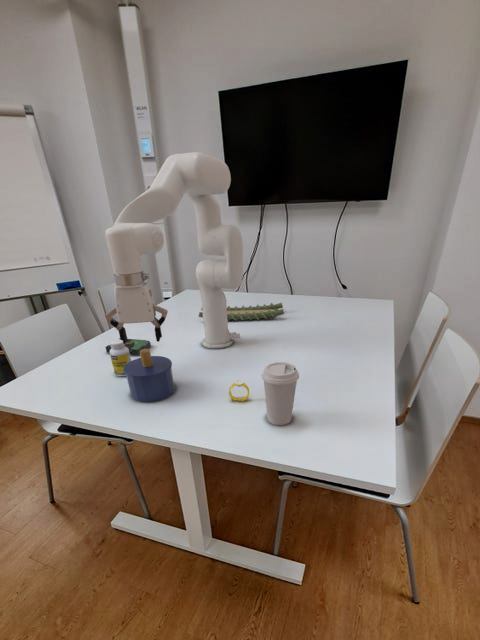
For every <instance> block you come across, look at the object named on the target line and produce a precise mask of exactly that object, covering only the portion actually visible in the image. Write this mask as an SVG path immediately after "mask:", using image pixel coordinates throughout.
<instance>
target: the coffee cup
mask: <svg viewBox="0 0 480 640" xmlns="http://www.w3.org/2000/svg"><path fill="white" fill-rule="evenodd" d="M260 377H261V379H262V381H263V389H264V397H265V408H266V417H267V418H266V419H267V422H269V423H270V424H272V425H274V426H285V425H288V424H289V423H290V422H291V421H292V417H293V410H294V402H295V395H296V390H297V381H298V380H299V379H300V374H299V371H298V370H297V367H296V365H294V364H292V363H290V362H285V361H278V362H277V361H275V362H271V363H269V364H267V365H266V366H265V367H264V369H263V370H262V373H261V375H260Z"/></svg>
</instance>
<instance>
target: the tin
mask: <svg viewBox="0 0 480 640" xmlns="http://www.w3.org/2000/svg"><path fill="white" fill-rule="evenodd" d="M125 377H126V380H127V384H128V389H129V393H130V396H131V398H132V399H134V400H135V401H137V402H141V403H153V402H160V401H162V400H165V399H167V398H169V397H170V396H171V395H173V393H174V392H175V381H174V375H173V370H172V367H171V368H170V369H169V370H168V371H166V372H164V373H162V374H160V375H157V376H153V377H146V378H136V377H130V376H128V375H126V376H125Z"/></svg>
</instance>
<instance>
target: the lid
mask: <svg viewBox="0 0 480 640" xmlns="http://www.w3.org/2000/svg"><path fill="white" fill-rule="evenodd" d="M139 356H140V357H138V358H135V359H133V360H132V359H131V361H130V362H129V363H127V364H126V365H125V366H124V369H123V370H124V373H125V374H126V375H128V376H130V377H136V378H146V377H153V376H157V375H160V374H162V373H164V372H166V371H168V370H169V369H170V368H171V369H172V367H173V362H172V360H171V359H170V358H168V357H166V356H161V355H151V350H150V348H148V349H142V350H140V355H139Z"/></svg>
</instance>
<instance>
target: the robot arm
mask: <svg viewBox="0 0 480 640" xmlns="http://www.w3.org/2000/svg"><path fill="white" fill-rule="evenodd" d="M231 182H232V177H231V172H230V168H229V166H228V164H226V162H225V161H223V160H222V159H219V158H217V157H215V156H212V155H210V154H207V153H204V152H200V151H193V152H183V153H174V154H171V155H169V156H168V157H167V158H166V159H165V160H164V162H163V164H162V166H161V167H160V169H159V171H158V173H157V175H156V176H155V178H154V180H153V181H152V183H151V185H150V187H149V188H148V189H147V190H146V191H144V192H143V193H141V194H139V195H138V196H137V197H136V198H135V199H133V200H131V202H129V203H128V204H127V205H126V206H125V207H124V208H123V209H122V210H121V211H120V213H119V215H118V216H117V218H116V220H115V222H114V224H113V226H111V227H108V228H107V229H105V231H104V235H105V240H106V245H107V250H108V254H109V258H110V263H111V268H112V272H113V277H114V282H115V285H114V286H113V294H114V305H115V307H114V308H113V309H111V310H110V311H108V312H106V313H105V314H104V318H105V319H106V320H107V321H108V322H109V324H110V325H111V326H112V327H114V328H115V329H116V331H118V334H119V338H120V339H121V340H123V344H126V342H127V340H128V339H129V338H128V336H127V332H126V328H125V327H124V325H125V324H139V323H140V324H141V323H143V324H144V323H151V324H152V325H153V326H154V334H155V339H156V342H160V341H161V338H163V334H162V327H161V326H162V325H163V324H164V323H165V320H166V318H167V316H168V313H169V311H168V309H166V308H163V307H161V306H159V305H156V304H155V302H154V298H153V293H152V290H151V288H150V285H149V283H148V282H146V281H147V280H150V274H149V273H146V272H144V270H143V264H142V259H141V256H146V255H147V256H148V255H149V256H150V255H156V254H158V253H160V251H161V250H162V249H163V247H164V243H165V237H164V234H163V230H161V228H160V227H159V226H157V225H156V224H154V223H155V222H158V221H161V220H163V219H166V218H168V217H170V216H172V215H173V214H174V213H175V212H176V211H177V209H178V207H179V205H180V202H181V201H182V199H183V197H184V195H185V194H186V196H187V197H188V198H189V200H190V201H191V203H192V205H193V208H194V212H195V221H196V235H197V246H198V249H199V252H200V253H201V254H203V255H206V256H220V257H225V259H216V258H215V259H214V258H213V259H212V258H210V259H209V258H208V259H203V260H201V261H200V262H198V263H197V265H196V267H195V277H196V281H197V285H198V288H199V293H200V299H201V308H202V310H201V312H203V317H202V318H203V319H202V321H203V330H204V338H203V339H202V340H201V344H202V347H204V348H207V349H216V350H217V349H223V348H227V347H230V346H232V344H233V342H234V340H233V339H241V334H240V333H237V332H231V331H230V330H229V323H228V322H229V321H228V320H227V307H228V306H227V297H226V294H225V292H224V290H223V289H229V290H230V289H231V290H234V289H238V288H240V286H241V285H242V283H243V277H244V255H243V254H244V253H243V251H244V250H243V248H244V247H243V245H244V244H243V236H242V233H241V230H240V229H239V228H238V227H237V226H236V225H233V224H222V217H221V207H220V204H219V202H218V200H217V199H216V197H215V196H214V195H223V194H225V193H226V192H227V191H228V190H229V188H230V187H231ZM157 313H158V314H159V313H160V314H161V316H160V318H159V319H158V318H157V317H156V316H157ZM115 315H116V316H117V319H118V321H117V320H116V319H114V317H113V316H115Z"/></svg>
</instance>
